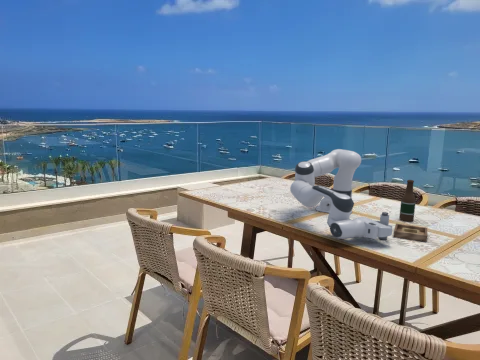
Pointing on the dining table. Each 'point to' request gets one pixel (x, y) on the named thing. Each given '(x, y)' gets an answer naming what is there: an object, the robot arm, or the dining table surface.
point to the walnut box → (410, 232)
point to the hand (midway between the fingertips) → (385, 224)
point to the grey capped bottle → (384, 222)
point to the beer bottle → (408, 203)
